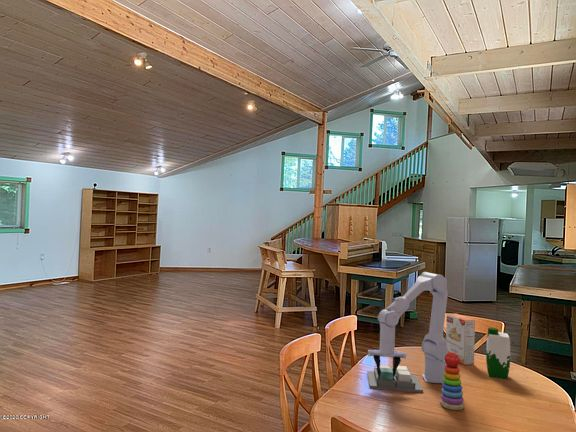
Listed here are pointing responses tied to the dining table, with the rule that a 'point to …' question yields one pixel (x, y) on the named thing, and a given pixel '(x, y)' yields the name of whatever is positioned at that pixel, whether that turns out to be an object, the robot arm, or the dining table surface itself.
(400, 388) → the puzzle board
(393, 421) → the dining table surface
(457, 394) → the stacking toy
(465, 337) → the cracker box
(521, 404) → the dining table surface
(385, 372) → the teal block
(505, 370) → the milk carton
